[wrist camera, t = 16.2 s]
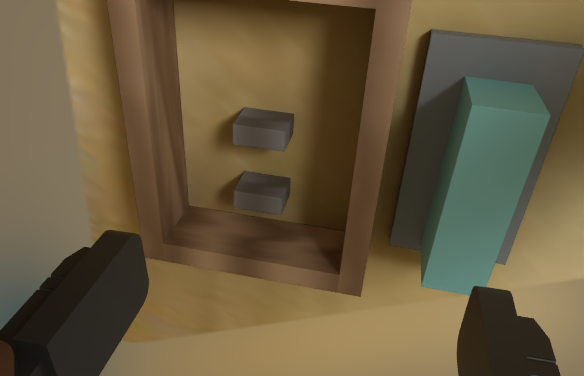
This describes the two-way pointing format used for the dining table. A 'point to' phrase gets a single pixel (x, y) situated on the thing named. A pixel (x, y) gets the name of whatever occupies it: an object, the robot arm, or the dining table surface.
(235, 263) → the pocket
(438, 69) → the slate mat
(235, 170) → the dining table surface
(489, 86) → the teal rectangular block
